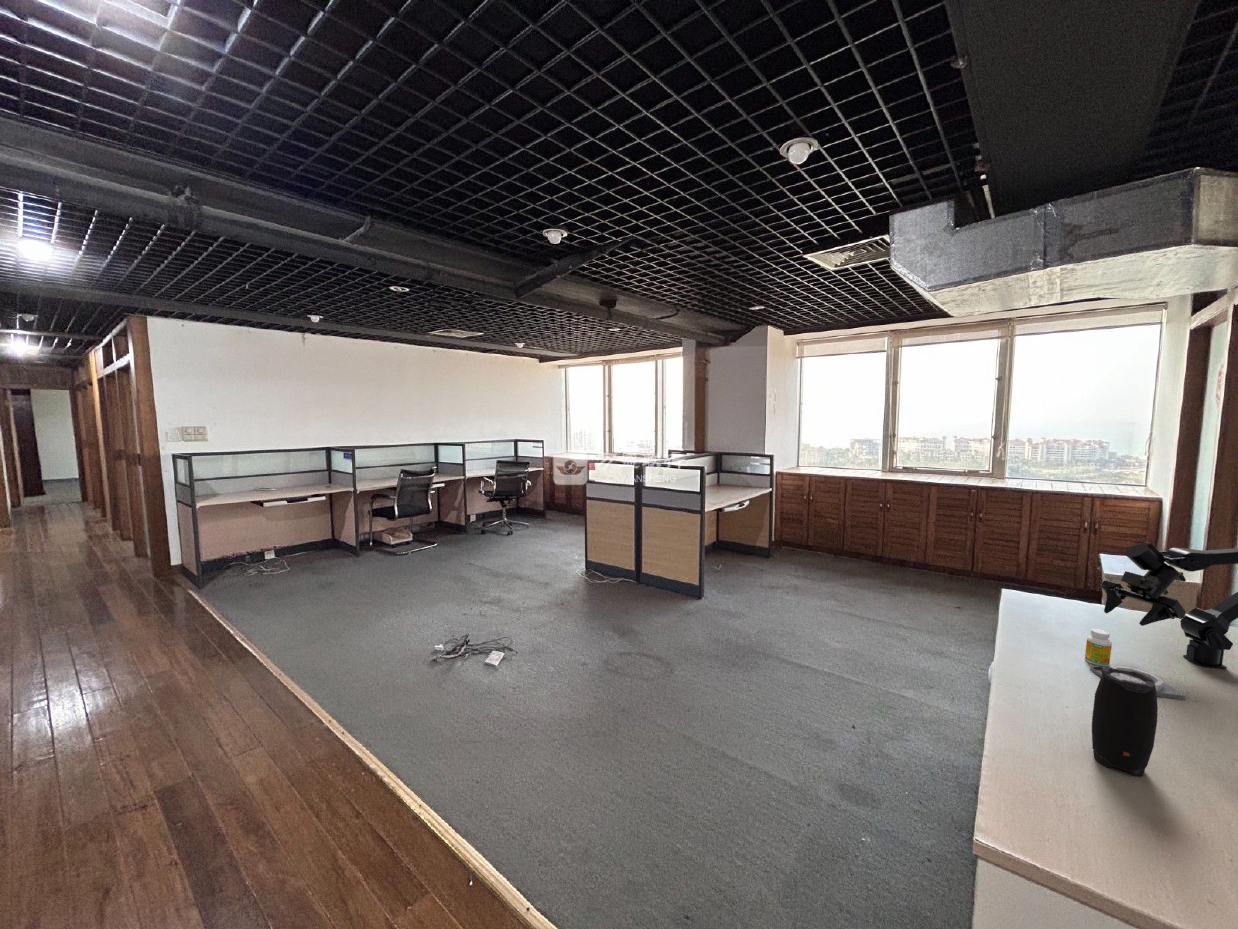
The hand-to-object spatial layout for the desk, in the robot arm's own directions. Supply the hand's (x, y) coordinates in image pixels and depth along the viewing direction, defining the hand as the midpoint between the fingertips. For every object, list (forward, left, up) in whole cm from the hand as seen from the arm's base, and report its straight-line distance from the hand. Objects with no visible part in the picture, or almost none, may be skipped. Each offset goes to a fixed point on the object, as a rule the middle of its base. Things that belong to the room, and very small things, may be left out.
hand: (1122, 618), depth 150 cm
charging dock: (+5, +15, -13) cm, 21 cm away
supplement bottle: (+7, +3, -13) cm, 16 cm away
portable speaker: (+33, +56, -13) cm, 67 cm away
